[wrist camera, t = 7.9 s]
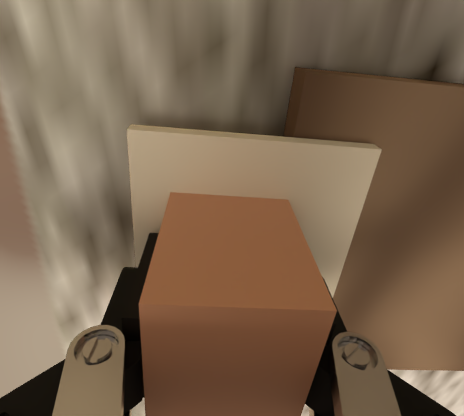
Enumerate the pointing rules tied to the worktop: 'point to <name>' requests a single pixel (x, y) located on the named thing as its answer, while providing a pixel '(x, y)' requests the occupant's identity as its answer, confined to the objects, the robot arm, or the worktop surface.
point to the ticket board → (398, 210)
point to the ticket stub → (240, 263)
